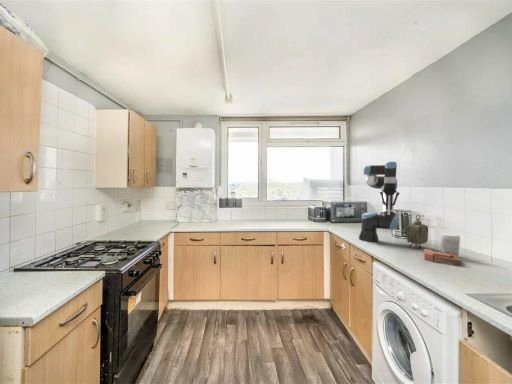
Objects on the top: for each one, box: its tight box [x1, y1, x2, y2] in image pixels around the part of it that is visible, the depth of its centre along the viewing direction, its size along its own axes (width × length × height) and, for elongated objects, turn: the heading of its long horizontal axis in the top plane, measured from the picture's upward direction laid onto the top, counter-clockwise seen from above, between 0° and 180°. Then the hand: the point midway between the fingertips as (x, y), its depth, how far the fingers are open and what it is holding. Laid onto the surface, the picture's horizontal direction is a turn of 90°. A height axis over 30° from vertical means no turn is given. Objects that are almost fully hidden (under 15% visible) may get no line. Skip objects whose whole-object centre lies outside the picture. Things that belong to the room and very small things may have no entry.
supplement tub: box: [440, 232, 461, 257], centre depth 154 cm, size 10×10×15 cm
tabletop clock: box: [406, 214, 429, 249], centre depth 172 cm, size 14×9×25 cm, turn 124°
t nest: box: [432, 250, 463, 267], centre depth 144 cm, size 14×13×3 cm
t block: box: [423, 248, 451, 262], centre depth 147 cm, size 13×13×4 cm
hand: (388, 214), depth 170 cm, fingers closed
